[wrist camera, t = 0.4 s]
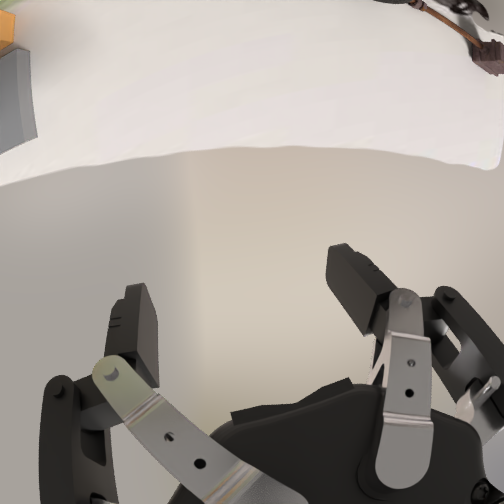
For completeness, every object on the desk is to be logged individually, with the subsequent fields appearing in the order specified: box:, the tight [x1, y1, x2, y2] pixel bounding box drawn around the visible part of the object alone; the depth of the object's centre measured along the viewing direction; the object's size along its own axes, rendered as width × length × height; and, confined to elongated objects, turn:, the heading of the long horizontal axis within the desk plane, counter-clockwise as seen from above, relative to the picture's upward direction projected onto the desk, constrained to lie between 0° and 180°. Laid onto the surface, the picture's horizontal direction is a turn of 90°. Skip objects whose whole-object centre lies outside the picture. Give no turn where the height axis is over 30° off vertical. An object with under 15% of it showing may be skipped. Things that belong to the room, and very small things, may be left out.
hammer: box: [410, 0, 504, 76], centre depth 28 cm, size 7×33×10 cm, turn 84°
